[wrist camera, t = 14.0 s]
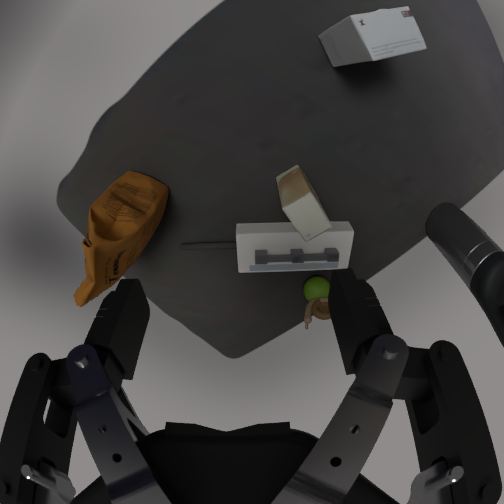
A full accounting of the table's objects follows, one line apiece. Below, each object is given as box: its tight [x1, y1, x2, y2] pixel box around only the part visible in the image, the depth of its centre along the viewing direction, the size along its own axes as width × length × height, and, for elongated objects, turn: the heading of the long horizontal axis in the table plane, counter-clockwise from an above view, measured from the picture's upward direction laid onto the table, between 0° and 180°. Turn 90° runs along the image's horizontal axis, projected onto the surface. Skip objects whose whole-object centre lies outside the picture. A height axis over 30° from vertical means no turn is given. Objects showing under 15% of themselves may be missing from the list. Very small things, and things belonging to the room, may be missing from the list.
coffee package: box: [74, 171, 169, 307], centre depth 39 cm, size 10×12×22 cm
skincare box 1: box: [276, 165, 332, 242], centre depth 41 cm, size 6×4×12 cm
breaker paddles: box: [255, 248, 339, 265], centre depth 48 cm, size 14×2×2 cm, turn 92°
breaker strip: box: [180, 221, 354, 273], centre depth 51 cm, size 31×8×4 cm, turn 92°
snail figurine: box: [304, 276, 331, 329], centre depth 53 cm, size 5×6×12 cm
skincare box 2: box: [318, 6, 427, 67], centre depth 27 cm, size 8×6×15 cm
